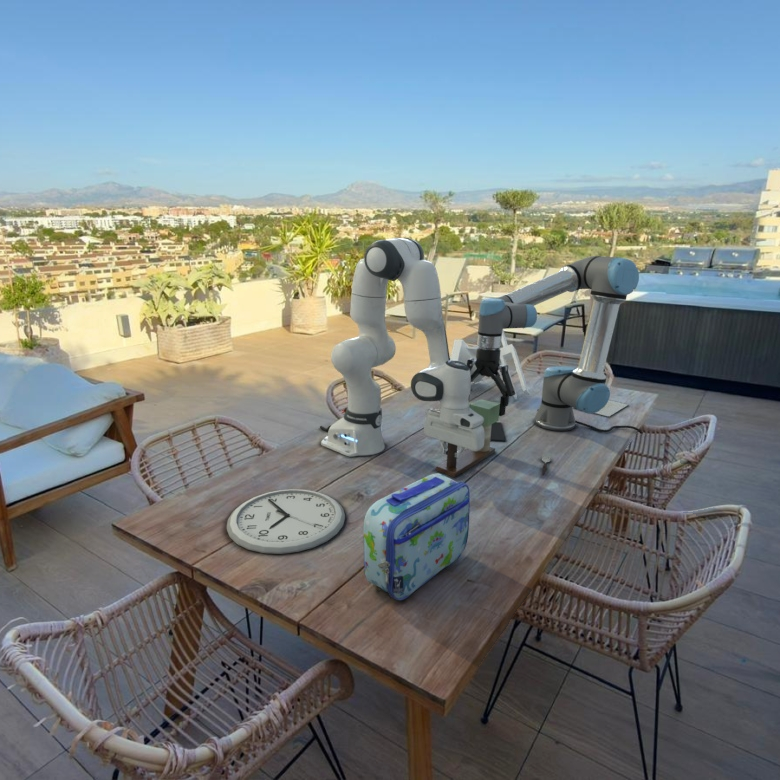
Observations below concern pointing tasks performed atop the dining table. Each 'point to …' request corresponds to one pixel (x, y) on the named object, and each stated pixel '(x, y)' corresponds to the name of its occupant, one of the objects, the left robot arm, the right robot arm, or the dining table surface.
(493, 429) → the slate mat
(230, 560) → the dining table surface
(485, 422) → the sage green cube
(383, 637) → the dining table surface
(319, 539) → the wall clock
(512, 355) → the white plastic object
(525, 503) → the dining table surface
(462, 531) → the lunch box
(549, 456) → the fork
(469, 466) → the caddy
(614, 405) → the invitation card
